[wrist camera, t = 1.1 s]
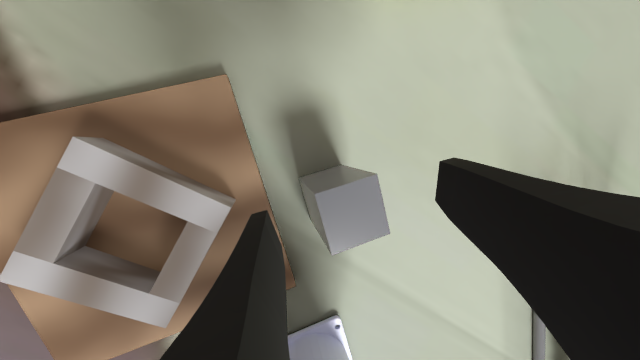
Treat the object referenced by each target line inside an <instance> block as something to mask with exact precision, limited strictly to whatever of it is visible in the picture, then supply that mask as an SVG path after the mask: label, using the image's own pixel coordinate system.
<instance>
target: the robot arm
mask: <svg viewBox="0 0 640 360" xmlns="http://www.w3.org/2000/svg"><path fill="white" fill-rule="evenodd" d="M435 201H436V202H437V204H438V205H439V206H440V208H441V209H442V210H443V212H444V213H445V214H446V216H447V217H448V218H449V219H450V220H451V221H452V222H453V224H454V225H455V226H456V227H457V228H458V229H459V230H460V231H461V232H462V233H463V234H464V235H465V236H466V237H467V238H468V239H469V240H470V241H471V242H472V243H474V244H475V245H476V246H477V247H478V248H479V249H480V250H481V251H482V252H483V253H484V254H485V255H486V256H487V257H488V258H489V259H490V260H491V261H492V262H493V263H494V264H495V265H496V266H497V268H498V269H499V270H500V271H501V272H502V273H503V274H504V275H505V276H506V278H507V279H508V280H509V281H510V282H511V283H512V285H513V286H514V287H515V288H516V289H517V291H518V292H519V293H520V294H521V295H522V297H523V298H524V299H525V300H526V302H527V303H528V304H529V305H530V307H531V308H532V309H533V310H534V312H535V313H536V314H537V315H538V317H539V318H540V319H541V321H542V322H543V323H544V324H545V326H546V327H547V328H548V330H549V331H550V332H551V334H552V335H553V336H554V338H555V339H556V341H557V342H558V343H559V345H560V346H561V347H562V349H563V350H564V351H565V353H566V354H567V355H568V357H569V358H570V360H640V197H633V196H627V195H620V194H614V193H608V192H602V191H597V190H591V189H585V188H580V187H575V186H570V185H565V184H561V183H556V182H552V181H547V180H543V179H538V178H534V177H530V176H526V175H522V174H518V173H514V172H510V171H506V170H503V169H499V168H495V167H491V166H487V165H484V164H480V163H476V162H472V161H468V160H463V159H458V158H451V159H447V160H443V161H440V163H439V172H438V181H437V189H436V198H435ZM338 324H339V325H338ZM336 325H338V326H336ZM160 360H353V359H352V356H351V352H350V349H349V346H348V342H347V339H346V335H345V332H344V329H343V325H342V322H341V319H340V317H339V316H337V315H335V316H333V317H330V318H328V319H325V320H323V321H321V322H318V323H316V324H314V325H311V326H309V327H307V328H304V329H302V330H300V331H297V332H295V333H293V334H290V335H287V308H286V276H285V264H284V257H283V250H282V245H281V242H280V240H279V237H278V235H277V233H276V230H275V228H274V225H273V223H272V220H271V218H270V216H269V213H268V211H267V210H264V211H261V212H257V213H254V214H251V216H250V218H249V220H248V222H247V224H246V226H245V228H244V230H243V232H242V234H241V236H240V238H239V240H238V242H237V244H236V246H235V248H234V249H233V251H232V253H231V255H230V257H229V259H228V261H227V263H226V264H225V266H224V268H223V269H222V271H221V273H220V274H219V276H218V278H217V279H216V281H215V283H214V285H213V286H212V288H211V289H210V291H209V293H208V294H207V296H206V297H205V299H204V300H203V302H202V303H201V305H200V306H199V308H198V309H197V311H196V312H195V313H194V315H193V316H192V318H191V319H190V321H189V322H188V323H187V325H186V326H185V328H184V329H183V330H182V332H181V333H180V334H179V335H178V337H177V338H176V339H175V341H174V342H173V343H172V344H171V346H170V347H169V348H168V350H167V351H166V352H165V353H164V355H163V356H162V357H161V359H160Z"/></svg>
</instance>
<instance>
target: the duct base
mask: <svg viewBox="0 0 640 360" xmlns="http://www.w3.org/2000/svg"><path fill="white" fill-rule="evenodd" d="M264 210H267V211H268V213H269V216H270V218H271V220H272V223H273V225H274V228H275V230H276V233H277V235H278V237H279V240H280V242H281V245H282V250H283V257H284V264H285V276H286V290H288V289H290V288H293V287H295V286H296V283H295V279H294V276H293V273H292V270H291V267H290V264H289V261H288V258H287V255H286V252H285V249H284V246H283V243H282V240H281V236H280V233H279V230H278V227H277V224H276V221H275V218H274V215H273V212H272V209H271V206H270V203H269V200H268V197H267V194H266V191H265V188H264V185H263V182H262V179H261V176H260V173H259V170H258V167H257V163H256V160H255V157H254V154H253V151H252V148H251V145H250V142H249V139H248V136H247V133H246V130H245V127H244V124H243V121H242V118H241V115H240V112H239V109H238V106H237V103H236V100H235V97H234V94H233V91H232V87H231V84H230V81H229V78H228V77H227V75H226V74H225V75H220V76H215V77H211V78H206V79H201V80H197V81H192V82H187V83H183V84H178V85H173V86H169V87H164V88H159V89H155V90H150V91H145V92H141V93H136V94H131V95H126V96H122V97H117V98H112V99H108V100H103V101H98V102H94V103H89V104H84V105H80V106H75V107H70V108H66V109H61V110H56V111H52V112H47V113H42V114H38V115H33V116H28V117H24V118H19V119H14V120H9V121H5V122H0V274H1V275H0V282H3V283H7V285H8V286H9V288H10V290H11V291H12V293H13V294H14V296H15V298H16V299H17V301H18V302H19V304H20V306H21V307H22V309H23V310H24V312H25V314H26V315H27V317H28V318H29V320H30V322H31V323H32V325H33V326H34V328H35V330H36V331H37V333H38V334H39V336H40V338H41V339H42V341H43V342H44V344H45V346H46V347H47V349H48V350H49V352H50V354H51V355H52V357H53V358H54V360H109V359H111V358H114V357H116V356H119V355H121V354H124V353H127V352H129V351H132V350H134V349H137V348H139V347H142V346H144V345H147V344H150V343H152V342H155V341H157V340H160V339H162V338H165V337H167V336H170V335H173V334H175V333H178V332H180V331H182V330H183V329H184V328H185V326H186V325H187V323H188V322H189V321H190V319H191V318H192V316H193V315H194V313H195V312H196V311H197V309H198V308H199V306H200V305H201V303H202V302H203V300H204V299H205V297H206V296H207V294H208V293H209V291H210V289H211V288H212V286H213V285H214V283H215V281H216V279H217V278H218V276H219V274H220V273H221V271H222V269H223V268H224V266H225V264H226V263H227V261H228V259H229V257H230V255H231V253H232V251H233V249H234V248H235V246H236V244H237V242H238V240H239V238H240V236H241V234H242V232H243V230H244V228H245V226H246V224H247V222H248V220H249V218H250V216H251V214H254V213H257V212H261V211H264Z"/></svg>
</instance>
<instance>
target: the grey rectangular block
mask: <svg viewBox="0 0 640 360" xmlns="http://www.w3.org/2000/svg"><path fill="white" fill-rule="evenodd" d="M299 181H300V184H301V188H302V191H303V195H304V198H305V201H306V205H307V208H308V212H309V215H310V218H311V221H312V222H313V224H314V226H315V228H316V229H317V231H318V233H319V234H320V236H321V238H322V239H323V241H324V243H325V245H326V246H327V248H328V250H329V251H330V253H331V255H335V254H337V253H340V252H343V251H345V250H348V249H351V248H353V247H356V246H359V245H361V244H364V243H367V242H369V241H372V240H374V239H377V238H380V237H382V236H385V235H388V234H390V230H389V226H388V221H387V217H386V212H385V207H384V203H383V198H382V194H381V189H380V185H379V180H378V176H377V174H375V173H371V172H367V171H363V170H359V169H356V168H352V167H348V166H344V165H339V166H336V167H332V168H329V169H326V170H323V171H319V172H316V173H313V174H310V175H306V176H303V177H300V178H299Z"/></svg>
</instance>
